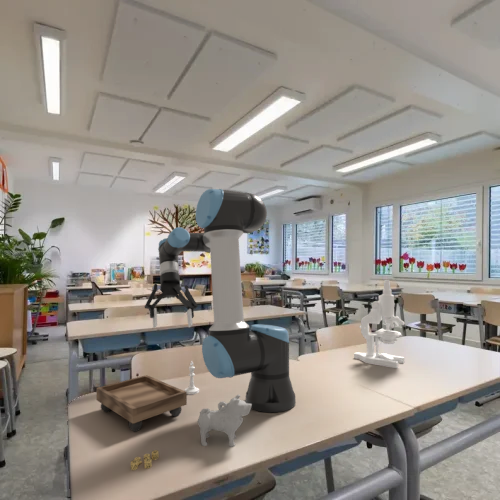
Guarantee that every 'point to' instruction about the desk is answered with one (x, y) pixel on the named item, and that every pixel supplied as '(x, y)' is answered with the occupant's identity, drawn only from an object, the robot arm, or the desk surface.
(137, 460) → the dice set
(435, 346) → the desk surface
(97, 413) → the desk surface
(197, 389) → the chess piece
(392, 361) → the microscope
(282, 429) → the desk surface
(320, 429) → the desk surface
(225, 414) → the white dog statue
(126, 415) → the caster cart
